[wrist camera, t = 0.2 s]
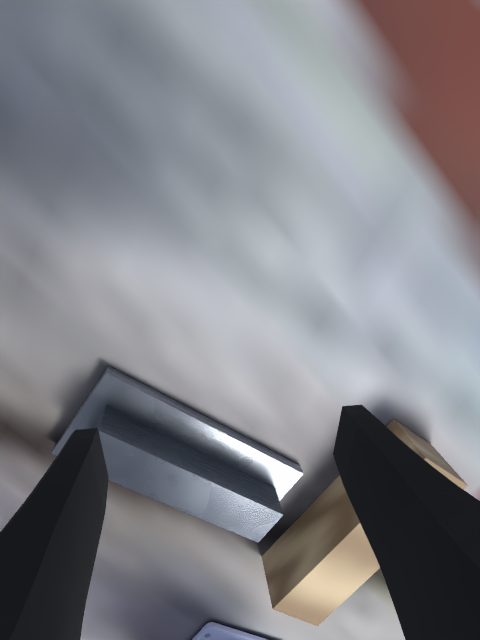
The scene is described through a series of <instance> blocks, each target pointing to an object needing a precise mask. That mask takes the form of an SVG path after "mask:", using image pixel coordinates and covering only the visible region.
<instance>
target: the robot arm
mask: <svg viewBox="0 0 480 640" xmlns="http://www.w3.org/2000/svg"><path fill="white" fill-rule="evenodd" d="M333 454H334V458H335V461H336V464H337V468H338V471H339V474H340V477H341V480H342V483H343V486H344V488H345V490H346V493H347V495H348V497H349V499H350V502H351V504H352V506H353V508H354V511H355V513H356V515H357V517H358V519H359V521H360V524H361V526H362V528H363V530H364V532H365V535H366V537H367V539H368V541H369V543H370V545H371V548H372V550H373V552H374V554H375V556H376V559H377V561H378V563H379V566H380V568H381V571H382V573H383V576H384V578H385V581H386V584H387V587H388V590H389V592H390V595H391V598H392V601H393V604H394V607H395V609H396V612H397V615H398V618H399V621H400V624H401V627H402V630H403V633H404V636H405V639H406V640H480V501H479V500H477V499H476V498H474V497H473V496H472V495H470V494H469V493H467V492H466V491H464V490H463V489H462V488H460V487H459V486H457V485H456V484H455V483H453V482H452V481H451V480H449V479H448V478H447V477H446V476H444V475H443V474H442V473H440V472H439V471H438V470H437V469H435V468H434V467H433V466H431V465H430V464H429V463H428V462H427V461H425V460H424V459H423V458H422V457H420V456H419V455H418V454H417V453H416V452H414V451H413V450H412V449H411V448H410V447H409V446H407V445H406V444H405V443H404V442H403V441H402V440H400V439H399V438H398V437H397V436H396V435H395V434H394V433H393V432H391V431H390V430H389V429H388V428H387V427H386V426H385V425H384V424H382V423H381V422H380V421H379V420H378V419H377V418H376V417H375V416H374V415H372V414H371V413H370V412H369V411H368V410H367V409H366V408H365V407H363V406H362V405H353V406H342V411H341V416H340V422H339V427H338V432H337V437H336V442H335V447H334V452H333ZM108 478H109V476H108V472H107V467H106V463H105V458H104V453H103V449H102V444H101V440H100V435H99V430H98V428H90V429H79V430H75V431H74V432H73V433H72V434H71V435H70V437H69V439H68V440H67V442H66V443H65V445H64V446H63V448H62V449H61V451H60V452H59V454H58V455H57V457H56V458H55V460H54V461H53V463H52V464H51V466H50V467H49V469H48V470H47V472H46V473H45V474H44V476H43V477H42V479H41V480H40V481H39V483H38V484H37V485H36V487H35V488H34V490H33V491H32V492H31V494H30V495H29V497H28V498H27V499H26V501H25V502H24V503H23V504H22V506H21V507H20V508H19V509H18V511H17V512H16V513H15V515H14V516H13V517H12V518H11V520H10V521H9V522H8V523H7V525H6V526H5V527H4V528H3V530H2V531H1V532H0V640H80V637H81V629H82V621H83V616H84V610H85V604H86V599H87V594H88V590H89V585H90V581H91V576H92V571H93V567H94V562H95V558H96V553H97V548H98V544H99V539H100V534H101V530H102V525H103V520H104V515H105V508H106V499H107V489H108ZM192 640H268V639H264V638H261V637H258V636H255V635H252V634H249V633H246V632H242V631H239V630H236V629H233V628H230V627H227V626H224V625H220V624H217V623H214V622H209V623H207V624H206V625H205V626H204V627H203V628H202V629H201V630H200V631H199V633H198V634H197V635H196V636H195V637H194V638H193V639H192Z"/></svg>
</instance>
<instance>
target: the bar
mask: <svg viewBox="0 0 480 640" xmlns="http://www.w3.org/2000/svg"><path fill="white" fill-rule="evenodd" d="M386 427H387V428H388V429H389V430H390V431H391V432H393V433H394V434H395V435H396V436H397V437H398V438H399V439H400V440H402V441H403V442H404V443H405V444H406V445H407V446H409V447H410V448H411V449H412V450H413V451H414V452H416V453H417V454H418V455H419V456H420V457H422V458H423V459H424V460H425V461H427V462H428V463H429V464H430V465H431V466H433V467H434V468H435V469H437V470H438V471H439V472H440V473H442V474H443V475H444V476H446V477H447V478H448V479H449V480H451V481H452V482H453V483H455V484H456V485H457V486H459V487H460V488H462V489H464V488H465V487H466V486H468V485H467V484H466V483H465V482H464V481H463V479H462V478H461V477H460V476H459V475H458V474H457V473H456V472H455V471H454V469H453V468H452V467H451V466H450V465H449V464H448V463H447V462H446V461H445V459H444V458H443V457H442V456H441V455H440V454H439V453H438V452H437V451H436V449H435V448H434V447H433V446H432V445H431V444H429V443H428V442H426V441H425V440H423V439H422V438H421V437H419V436H418V435H416V434H415V433H413V432H412V431H410V430H409V429H407V428H406V427H404V426H403V425H401V424H400V423H399V422H397V421H396V420H394V419H393V420H392V421H391V422H390V423H389V424H388V425H387V426H386ZM262 560H263V565H264V570H265V575H266V579H267V584H268V589H269V594H270V598H271V603H272V608H273V609H274V610H276V611H279V612H282V613H284V614H287V615H289V616H292V617H295V618H297V619H300V620H302V621H305V622H308V623H310V624H313V625H315V626H318V625H319V624H320V623H321V622H323V621H324V620H325V619H326V618H327V617H328V616H329V615H330V614H331V613H332V612H333V611H334V610H335V609H336V608H337V607H339V606H340V605H341V604H342V603H343V602H344V601H345V600H346V599H347V598H348V597H349V596H350V595H351V594H352V593H353V592H355V591H356V590H357V589H358V588H359V587H360V586H361V585H362V584H363V583H364V582H365V581H366V580H367V579H368V578H369V577H371V576H372V575H373V574H374V573H375V572H376V571H377V570H378V569H379V568H380V566H379V563H378V561H377V559H376V556H375V554H374V552H373V550H372V548H371V545H370V543H369V541H368V539H367V537H366V535H365V532H364V530H363V528H362V526H361V524H360V521H359V519H358V517H357V515H356V513H355V511H354V508H353V506H352V504H351V502H350V499H349V497H348V495H347V493H346V490H345V488H344V486H343V483H342V480H341V477H340V475H339V476H338V477H337V478H336V479H335V480H334V481H333V482H332V483H331V485H330V486H329V487H328V488H327V489H326V490H325V491H324V492H323V493H322V494H321V495H320V496H319V497H318V498H317V499H316V500H315V501H314V502H313V503H312V504H311V505H310V506H309V507H308V509H307V510H306V511H305V512H304V513H303V514H302V515H301V516H300V517H299V518H298V519H297V520H296V521H295V522H294V523H293V524H292V525H291V526H290V527H289V528H288V529H287V530H286V531H285V533H284V534H283V535H282V536H281V537H280V538H279V539H278V540H277V541H276V542H275V543H274V544H273V545H272V546H271V547H270V548H269V549H268V550H267V551H266V552H265V553H264V554H263V555H262Z"/></svg>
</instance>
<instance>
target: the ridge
mask: <svg viewBox="0 0 480 640" xmlns="http://www.w3.org/2000/svg"><path fill="white" fill-rule="evenodd" d="M90 428H98V430H99V435H100V440H101V444H102V449H103V453H104V458H105V463H106V467H107V472H108V476H109V478H108V480H109V481H111V482H114V483H116V484H119V485H121V486H123V487H126V488H128V489H131V490H133V491H135V492H138V493H140V494H143V495H145V496H147V497H150V498H152V499H155V500H157V501H159V502H162V503H164V504H167V505H169V506H171V507H174V508H176V509H179V510H181V511H183V512H186V513H188V514H191V515H193V516H195V517H198V518H200V519H203V520H205V521H208V522H210V523H212V524H215V525H217V526H220V527H222V528H224V529H227V530H229V531H232V532H234V533H236V534H239V535H241V536H244V537H246V538H248V539H251V540H253V541H256V542H258V543H259V541H260V540H261V539H262V538H263V537H264V536H265V535H266V534H267V533H268V531H269V530H270V529H271V528H272V527H273V526H274V525H275V524H276V523H277V521H278V520H279V519H280V518H281V517H282V516H283V512H282V508H281V505H280V502H279V501H280V500H281V499H282V498H283V497H284V495H285V494H286V493H287V492H288V491H289V490H290V489H291V488H292V486H293V485H294V484H295V483H296V482H297V481H298V480H299V479H300V477H301V476H302V475H303V471H302V469H301V467H300V465H298V464H297V463H295V462H293V461H291V460H289V459H287V458H285V457H283V456H281V455H279V454H277V453H275V452H273V451H271V450H270V449H268V448H266V447H264V446H262V445H260V444H258V443H256V442H254V441H252V440H250V439H248V438H246V437H244V436H243V435H241V434H239V433H237V432H235V431H233V430H231V429H229V428H227V427H225V426H223V425H221V424H219V423H217V422H216V421H214V420H212V419H210V418H208V417H206V416H204V415H202V414H200V413H198V412H196V411H194V410H192V409H191V408H189V407H187V406H185V405H183V404H181V403H179V402H177V401H175V400H173V399H171V398H169V397H167V396H165V395H164V394H162V393H160V392H158V391H156V390H154V389H152V388H150V387H148V386H146V385H144V384H142V383H140V382H138V381H137V380H135V379H133V378H131V377H129V376H127V375H125V374H123V373H121V372H119V371H117V370H115V369H113V368H111V367H110V366H108V367H107V369H106V370H105V372H104V373H103V375H102V376H101V378H100V379H99V380H98V382H97V383H96V385H95V386H94V388H93V389H92V391H91V392H90V394H89V395H88V397H87V398H86V400H85V401H84V403H83V404H82V406H81V407H80V409H79V410H78V411H77V413H76V414H75V416H74V417H73V419H72V420H71V422H70V423H69V425H68V426H67V428H66V429H65V431H64V432H63V434H62V435H61V437H60V438H59V440H58V441H57V443H56V444H55V446H54V448H53V451H52V454H54V455H56V456H57V455H58V454H59V452H60V451H61V449H62V448H63V446H64V445H65V443H66V442H67V440H68V439H69V437H70V435H71V434H72V433H73V432H74V431H75V430H79V429H90Z"/></svg>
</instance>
